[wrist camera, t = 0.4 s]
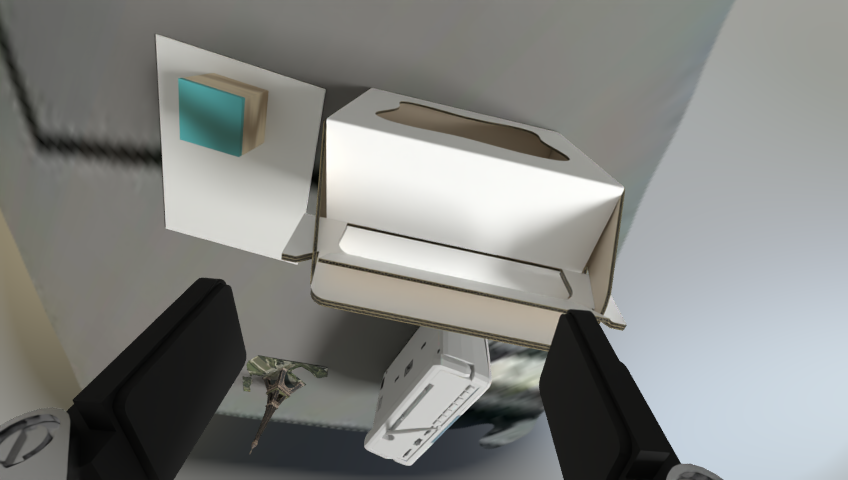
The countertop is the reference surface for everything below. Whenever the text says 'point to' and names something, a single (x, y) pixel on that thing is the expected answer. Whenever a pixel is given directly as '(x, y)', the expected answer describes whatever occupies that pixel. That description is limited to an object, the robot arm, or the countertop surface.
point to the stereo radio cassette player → (427, 392)
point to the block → (222, 113)
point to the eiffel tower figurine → (277, 382)
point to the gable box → (458, 222)
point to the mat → (238, 176)
